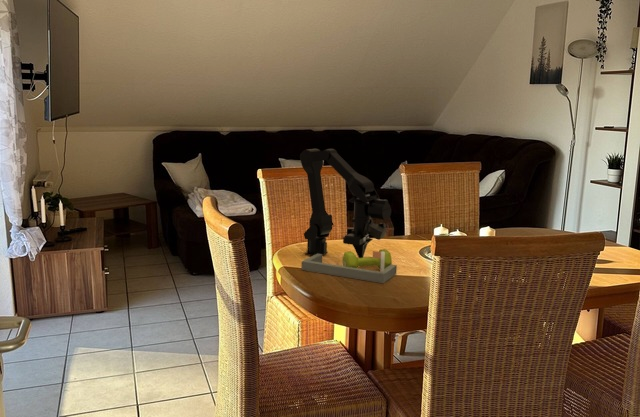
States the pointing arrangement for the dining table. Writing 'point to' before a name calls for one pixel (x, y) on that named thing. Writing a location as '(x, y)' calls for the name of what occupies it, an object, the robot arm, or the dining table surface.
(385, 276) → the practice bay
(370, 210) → the robot arm
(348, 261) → the dumbbell
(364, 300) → the dining table surface
